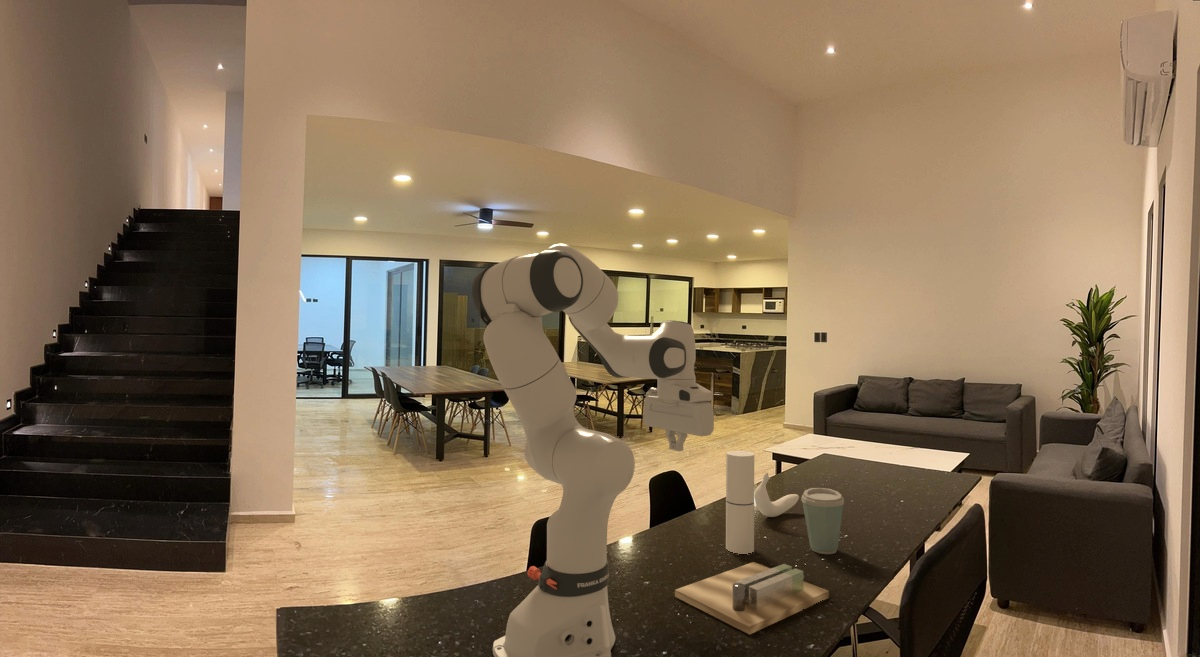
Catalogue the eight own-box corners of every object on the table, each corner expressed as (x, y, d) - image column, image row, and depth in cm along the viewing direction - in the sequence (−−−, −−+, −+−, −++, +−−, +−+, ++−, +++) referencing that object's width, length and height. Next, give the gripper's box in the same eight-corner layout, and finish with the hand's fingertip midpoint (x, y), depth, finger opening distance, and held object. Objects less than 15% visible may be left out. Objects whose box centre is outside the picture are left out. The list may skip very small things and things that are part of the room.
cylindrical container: (734, 555, 153) (734, 457, 153) (721, 546, 160) (721, 451, 160) (759, 553, 155) (759, 455, 155) (745, 543, 162) (745, 450, 162)
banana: (799, 512, 190) (800, 465, 190) (764, 524, 178) (764, 474, 178) (786, 508, 194) (786, 462, 194) (750, 520, 181) (750, 471, 181)
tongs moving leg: (739, 612, 119) (739, 588, 119) (724, 605, 122) (725, 582, 122) (798, 587, 131) (798, 566, 131) (784, 581, 134) (784, 560, 134)
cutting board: (749, 634, 114) (749, 626, 114) (674, 596, 130) (674, 589, 130) (828, 597, 129) (828, 590, 129) (753, 568, 145) (753, 561, 145)
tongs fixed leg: (756, 610, 120) (756, 589, 120) (748, 606, 122) (748, 586, 122) (803, 590, 130) (803, 571, 130) (795, 586, 131) (795, 568, 131)
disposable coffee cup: (848, 559, 151) (848, 499, 151) (803, 555, 153) (803, 496, 153) (840, 544, 162) (840, 488, 162) (798, 541, 164) (798, 486, 164)
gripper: (636, 387, 147) (636, 444, 147) (698, 395, 131) (698, 459, 131) (656, 386, 151) (656, 441, 151) (718, 393, 135) (718, 455, 135)
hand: (676, 450), depth 141 cm, fingers closed
